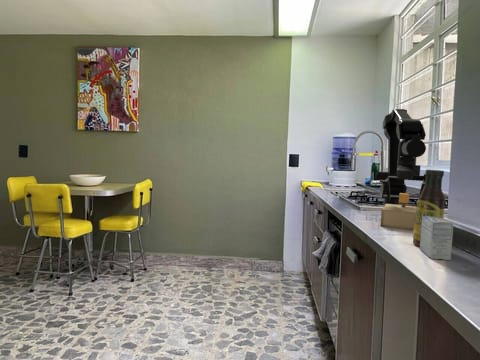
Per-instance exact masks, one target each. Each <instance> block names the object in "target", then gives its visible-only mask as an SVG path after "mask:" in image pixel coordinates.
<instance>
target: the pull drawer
mask: <svg viewBox="0 0 480 360" xmlns="http://www.w3.org/2000/svg"><path fill="white" fill-rule="evenodd" d="M398 196H399V205H394V204H385V207H396V208H406V209H416V208H417V206H416V205H415V206H413V205H406V204H409V201H410V193H407V192H406V193H400V194H399V195H398Z"/></svg>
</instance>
